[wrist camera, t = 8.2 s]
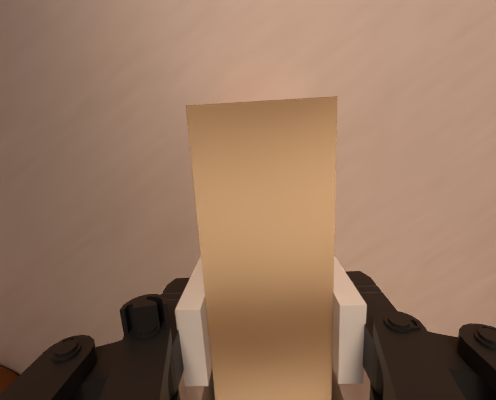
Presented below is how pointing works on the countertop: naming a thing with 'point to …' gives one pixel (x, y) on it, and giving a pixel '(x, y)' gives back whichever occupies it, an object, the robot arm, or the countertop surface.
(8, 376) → the mug
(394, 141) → the countertop surface
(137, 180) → the countertop surface
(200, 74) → the countertop surface
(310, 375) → the wooden block
